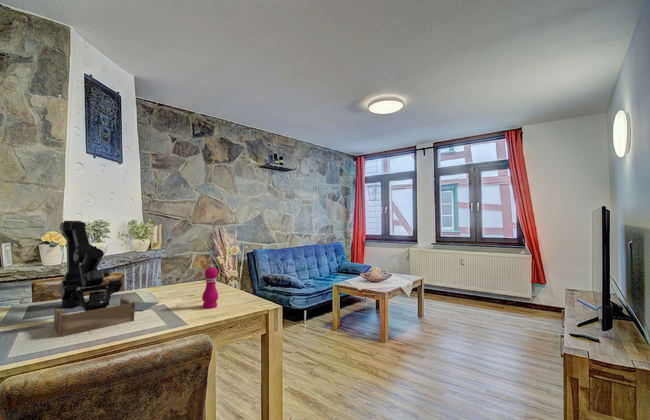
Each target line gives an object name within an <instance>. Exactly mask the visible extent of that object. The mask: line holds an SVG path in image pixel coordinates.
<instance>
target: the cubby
mask: <svg viewBox="0 0 650 420" xmlns="http://www.w3.org/2000/svg"><path fill="white" fill-rule="evenodd" d="M133 302H134V301H131V300H129V299H127V298H125V297H120V301H119V303H120V304H118V305H113V306H107V307H106V308H101V309H95V310H90V311H85V310H84V311H81V312H80V311H79V312H72V313H69V314H66V313H65V312H64V311H63V310H62V309H60V308H59V307H58V308H54V316H53V317H54V318H53V329H54V330H55V331H56V332H57V333H58V334H59V336H61V337H66V336H72V335H75V334H79V333H85V332H90V331H94V330H98V329H102V328H107V327H112V326H116V325H120V324H125V322H126V323H130V322H133V321H135V311H134V310H135V303H133Z"/></svg>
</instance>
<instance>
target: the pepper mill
mask: <svg viewBox="0 0 650 420" xmlns="http://www.w3.org/2000/svg"><path fill="white" fill-rule="evenodd" d="M214 266H215V265H214V264H213V263H212V264H209V267H208V268H206V270H205V271H204V276H205V283H206V285H205V290H204V292H203V293H202V296H201V298H202V299H201V300H202V302H203V303H202V308H203V309H216V308H217V307H218V302H217V301H218V299H219V293H218V290H217V287H216V282H217V277H218V275H219V271H218V269H217V268H216V267H214Z"/></svg>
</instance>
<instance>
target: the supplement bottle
mask: <svg viewBox="0 0 650 420" xmlns="http://www.w3.org/2000/svg"><path fill="white" fill-rule="evenodd" d="M88 293H89V295H88V299H87V301H86V300H85V302H86V306H87V309H86V310H84V311H90V310H95V309H101V308H106V307H108V306H107V300H106V299H105V295H104V294H105V291H103V290H100V291H93V292H88Z"/></svg>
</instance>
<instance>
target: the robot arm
mask: <svg viewBox="0 0 650 420" xmlns="http://www.w3.org/2000/svg"><path fill="white" fill-rule="evenodd" d="M86 226H87V225H86V222H83V221H82V220H63V222H61V223H60V224H59V230H60V232H61V236H62V237H63V238H64V240H65V241H66V273H65V274H64V275H63V277H62V280H61V282H60V285H59V288H58V294H59V295H60V297H61V305H59V306H58V308H59V309H60V308H62V309H74V308H76V307H81V308H82V309H83V310H84V311H85V310H86V309H87V306H86V299H85V296H84V293H91V292H97V291H104V292H105V293H104V295H105V296H104V299H106V300H107V307H109V306H110V300H111V296H112V295H113V294H114V293H119V292H120V289H122V286H123V282H122V280H121V279H112V280H109V281H108V283H107V284H103V283H104V279H105V278H108V277H109V276H110V274H111V273H110V272H111V271H110V269H109V268H108V267H106V268H103V269H100V270H99V269H98V266H100V264H101V262H102V259H103V257H104V255H105V252H104V251H103V250H102V249H100V248H98V247H97V246H95V245H92V244H90V241H89V238H88V234H87V230H86V228H87V227H86Z"/></svg>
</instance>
